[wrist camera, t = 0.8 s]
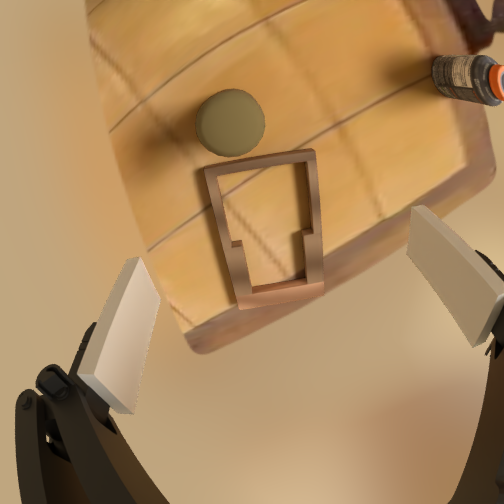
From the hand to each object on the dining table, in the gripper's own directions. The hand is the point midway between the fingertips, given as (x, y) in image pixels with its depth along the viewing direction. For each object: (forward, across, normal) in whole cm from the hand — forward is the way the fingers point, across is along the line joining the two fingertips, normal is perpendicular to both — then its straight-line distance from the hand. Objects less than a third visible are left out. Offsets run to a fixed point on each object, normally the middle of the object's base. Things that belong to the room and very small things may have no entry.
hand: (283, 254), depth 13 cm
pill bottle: (+21, +26, +8) cm, 35 cm away
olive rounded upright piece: (+21, -2, +4) cm, 21 cm away
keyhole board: (+20, 0, -10) cm, 23 cm away
